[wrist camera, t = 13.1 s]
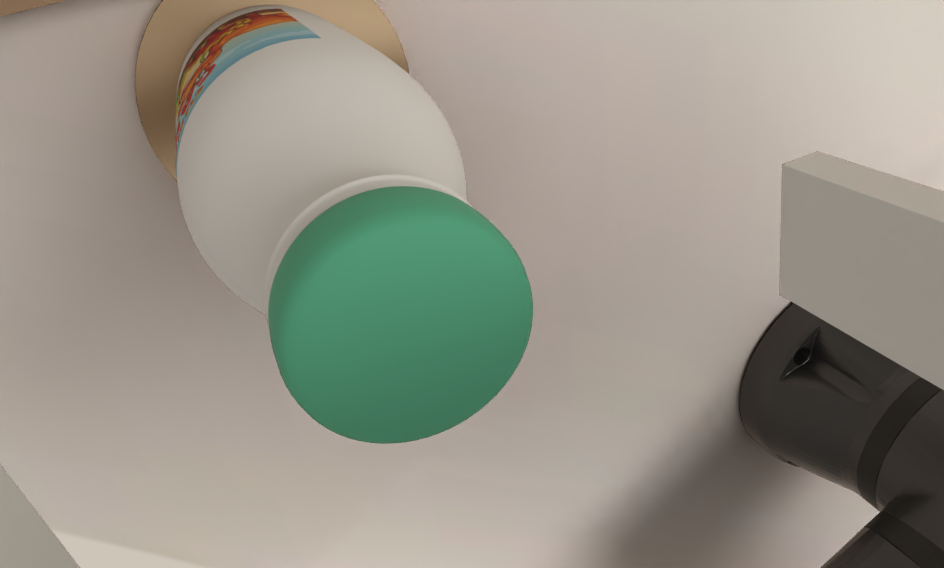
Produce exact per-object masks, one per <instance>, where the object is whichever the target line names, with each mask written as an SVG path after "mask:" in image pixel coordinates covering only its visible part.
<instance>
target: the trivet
mask: <svg viewBox="0 0 944 568" xmlns="http://www.w3.org/2000/svg"><path fill="white" fill-rule="evenodd" d="M257 5H283V6H290V7H294V8H298V9H301V10H304V11H307V12H310V13H312V14H315V15H317V16H319V17H321V18H323V19H325V20H327V21H329V22H330V23H332V24H334V25H336V26H337V27H339V28H341V29H343V30H344V31H346V32H348V33H350V34H351V35H353V36H355V37H356V38H358V39H360V40H361V41H363V42H365V43H366V44H368V45H369V46H371V47H373V48H374V49H376V50H378V51H379V52H381V53H382V54H384V55H385V56H387V57H388V58H389V59H391V60H392V61H393V62H395V63H396V64H397V65H398V66H400V67H401V68H402V69H403V70H405V71H406V72H407V73H409V70H408V64H407V61H406V58H405V54H404V51H403V48H402V45H401V43H400V41H399V39H398V37H397V34H396V32H395V30H394V29H393V27H392V25H391V24H390V22H389V20H388V19H387V17H386V16H385V14H384V13H383V12H382V10H381V9H380V8H379V7H378V5H377V4H376V3H375V2H374V1H373V0H163V1H162V2H161V4H160V5H159V6H158V8H157V9H156V11H155V12H154V14H153V16H152V18H151V20H150V22H149V24H148V26H147V28H146V31H145V33H144V36H143V39H142V42H141V45H140V48H139V53H138V59H137V64H136V79H135V88H136V98H137V106H138V110H139V114H140V118H141V123H142V125H143V128H144V130H145V133H146V136H147V138H148V141H149V142H150V144H151V146H152V148H153V150H154V152H155V153H156V155H157V157H158V158H159V160H160V161H161V163H162V164H163V165H164V167H165V168H166V169H167V171H168V172H169V173H170V174H171V175H172V176H173V177H174V178H175V180H176V181H177V176H176V168H175V114H176V94H177V85H178V80H179V75H180V72H181V68H182V65H183V62H184V60H185V58H186V56H187V54H188V52H189V50H190V48H191V47H192V45H193V44H194V42H195V41H196V40H197V38H198V37H199V36H200V35H201V34H202V33H203V32H204V31H205V30H206V29H207V28H208V27H209V26H210V25H212V24H213V23H214V22H216V21H217V20H219V19H220V18H222V17H224V16H226V15H227V14H229V13H232V12H234V11H237V10H239V9H243V8H246V7H251V6H257Z"/></svg>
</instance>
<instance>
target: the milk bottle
mask: <svg viewBox="0 0 944 568" xmlns="http://www.w3.org/2000/svg"><path fill="white" fill-rule="evenodd" d="M175 168H176V176H177V184H178V192H179V199H180V204H181V208H182V212H183V216H184V218H185V221H186V224H187V227H188V229H189V231H190V234H191V236H192V238H193V240H194V243H195V245H196V247H197V249H198V251H199V252H200V254H201V255H202V257H203V259H204V260H205V262H206V263H207V264H208V265H209V267H210V268H211V269H212V271H213V272H214V273H215V274H216V276H217V277H218V278H219V279H220V280H221V281H222V283H223V284H224V285H225V286H226V287H227V288H228V289H229V290H231V291H232V292H233V293H234V294H235V295H237V296H238V297H239V298H240V299H242V300H243V301H244V302H246V303H247V304H248V305H250V306H251V307H253V308H254V309H256V310H258V311H259V312H261V313H263V314H265V315H266V319H267V322H268V325H269V329H270V336H271V342H272V347H273V352H274V355H275V358H276V361H277V364H278V367H279V370H280V373H281V376H282V378H283V380H284V383H285V385H286V387H287V388H288V390H289V392H290V393H291V395H292V396H293V397H294V399H295V400H296V401H297V402H298V404H299V405H300V406H301V407H302V408H303V409H304V410H305V411H306V412H307V413H308V414H309V415H310V416H311V417H312V418H313V419H314V420H316V421H317V422H318V423H319V424H321V425H322V426H324V427H326V428H327V429H329V430H331V431H333V432H335V433H337V434H339V435H342V436H345V437H347V438H351V439H354V440H358V441H364V442H370V443H401V442H409V441H414V440H419V439H422V438H426V437H430V436H432V435H435V434H438V433H441V432H443V431H445V430H448V429H450V428H452V427H454V426H456V425H457V424H459V423H461V422H463V421H464V420H466V419H468V418H469V417H471V416H472V415H473V414H475V413H476V412H478V411H479V410H480V409H481V408H483V407H484V406H485V405H486V404H487V403H488V402H489V401H490V400H491V399H492V398H493V397H495V396H496V395H497V393H498V392H499V391H500V390H501V389H502V388H503V387H504V385H505V384H506V383H507V381H508V380H509V379H510V377H511V376H512V374H513V372H514V371H515V369H516V368H517V366H518V364H519V362H520V360H521V358H522V356H523V353H524V351H525V349H526V346H527V343H528V339H529V336H530V331H531V326H532V318H533V302H532V293H531V288H530V284H529V281H528V278H527V275H526V272H525V269H524V266H523V264H522V262H521V260H520V258H519V256H518V254H517V253H516V251H515V249H514V248H513V247H512V245H511V244H510V243H509V241H508V240H507V239H506V238H505V237H504V236H503V235H502V234H501V232H500V231H499V230H498V229H497V228H496V227H495V226H494V225H493V224H492V223H491V222H490V221H489V220H488V219H486V218H485V217H484V216H483V215H481V214H480V213H479V212H478V211H476V210H475V209H474V207H473V206H472V205H471V204H470V203H469V202H468V201H467V189H466V179H465V172H464V166H463V161H462V157H461V153H460V150H459V147H458V144H457V142H456V139H455V137H454V134H453V132H452V130H451V128H450V126H449V124H448V122H447V120H446V118H445V117H444V115H443V113H442V111H441V110H440V109H439V107H438V106H437V105H436V103H435V102H434V101H433V99H432V98H431V97H430V95H429V94H428V93H427V91H426V90H425V89H424V88H423V87H422V86H421V85H420V84H419V83H418V82H417V81H416V80H415V79H414V78H413V77H412V76H411V75H410V74H409V73H407V72H406V71H405V70H403V69H402V68H401V67H400V66H398V65H397V64H396V63H395V62H393V61H392V60H391V59H389V58H388V57H387V56H385V55H384V54H382V53H381V52H379V51H378V50H376V49H374V48H373V47H371V46H369V45H368V44H366V43H365V42H363V41H361V40H360V39H358V38H356V37H355V36H353V35H351V34H350V33H348V32H346V31H344V30H343V29H341V28H339V27H337V26H336V25H334V24H332V23H330V22H329V21H327V20H325V19H323V18H321V17H319V16H317V15H315V14H312V13H310V12H307V11H304V10H301V9H298V8H294V7H290V6H283V5H257V6H251V7H246V8H243V9H239V10H237V11H234V12H232V13H229V14H227V15H226V16H224V17H222V18H220V19H219V20H217V21H216V22H214V23H213V24H212V25H210V26H209V27H208V28H207V29H206V30H205V31H204V32H203V33H202V34H201V35H200V36H199V37H198V38H197V40H196V41H195V42H194V44H193V45H192V47H191V48H190V50H189V52H188V54H187V56H186V58H185V60H184V62H183V65H182V68H181V72H180V75H179V80H178V85H177V94H176V114H175Z"/></svg>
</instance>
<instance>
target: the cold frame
mask: <svg viewBox="0 0 944 568" xmlns="http://www.w3.org/2000/svg"><path fill="white" fill-rule="evenodd" d="M62 1H66V0H0V17H1V16H5V15H9V14H13V13H17V12H21V11H25V10H29V9H33V8H37V7H42V6H46V5H50V4H54V3H58V2H62Z"/></svg>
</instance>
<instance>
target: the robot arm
mask: <svg viewBox="0 0 944 568" xmlns="http://www.w3.org/2000/svg"><path fill="white" fill-rule="evenodd" d="M779 295H781V296H783V297H784V298H786V299H788V300H790V301H791V302H793V304H792V305H791V306H790V307H789V308H788V309H787V310H786V311H785V312H784V313H783V314H782V315H781V316H780V317H779V318H778V319H777V320H776V322H775V323H774V324H773V325H772V326H771V328H770V329H769V330H768V332H767V333H766V334H765V336H764V337H763V339H762V340H761V342H760V343H759V345H758V347H757V349H756V350H755V352H754V354H753V356H752V358H751V360H750V362H749V365H748V367H747V370H746V373H745V376H744V379H743V383H742V387H741V393H740V414H741V419H742V422H743V425H744V427H745V429H746V431H747V432H748V434H749V435H750V436H751V437H752V438H753V439H754V440H755V441H757V442H758V443H759V444H760V445H761V446H762V447H763V448H765V449H766V450H767V451H768V452H769V453H770V454H772V455H773V456H774V457H776V458H777V459H779V460H781V461H783V462H785V463H788V464H791V465H794V466H798V467H802V468H804V469H806V470H808V471H810V472H812V473H814V474H816V475H818V476H820V477H823V478H825V479H827V480H829V481H832V482H834V483H836V484H838V485H841V486H843V487H845V488H847V489H850V490H852V491H854V492H855V493H857V494H859V495H860V496H861V497H862V498H864V499H865V500H866V501H867V502H869V503H870V504H871V505H872V506H873V507H875V508H876V509H877V510H878V511H880V513H879V514H878V515H876V516H875V517H874V518H873V519H872V520H871V521H870V522H869V523H868V524H867V525H866V526H864V527H863V528H862V529H861V530H860V531H859V532H858V533H857V534H856V535H855V536H854V537H853V538H852V539H851V540H850V541H849V542H848V543H847V544H845V545H844V546H843V547H842V548H841V549H840V550H839V551H838V552H837V553H836V554H835V555H834V556H833V557H832V558H831V559H829V560H828V561H827V562H826V563H825V564H824V565H823V566H822V567H821V568H944V191H941V190H937V189H934V188H931V187H928V186H925V185H922V184H919V183H915V182H912V181H909V180H906V179H903V178H900V177H896V176H893V175H890V174H887V173H884V172H881V171H878V170H874V169H871V168H868V167H865V166H862V165H859V164H856V163H852V162H849V161H846V160H843V159H840V158H837V157H833V156H830V155H827V154H824V153H821V152H818V151H816V152H814V153H811V154H808V155H806V156H803V157H800V158H798V159H795V160H792V161H790V162H787V163H785V164H782V189H781V237H780V284H779ZM0 568H80V567H79V565H78V564H77V563H76V562H75V560H74V559H73V558H72V556H71V555H70V554H69V552H68V551H67V550H66V549H65V547H64V546H63V545H62V544H61V542H60V541H59V540H58V538H57V537H56V536H55V534H54V533H53V532H52V530H51V529H50V528H49V526H48V525H47V524H46V523H45V521H44V520H43V519H42V517H41V516H40V515H39V513H38V512H37V511H36V510H35V508H34V507H33V506H32V504H31V503H30V502H29V500H28V499H27V498H26V497H25V495H24V494H23V493H22V491H21V490H20V489H19V487H18V486H17V485H16V484H15V482H14V481H13V480H12V478H11V477H10V476H9V474H8V473H7V472H6V471H5V469H4V468H3V467H2V465H1V464H0Z"/></svg>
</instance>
